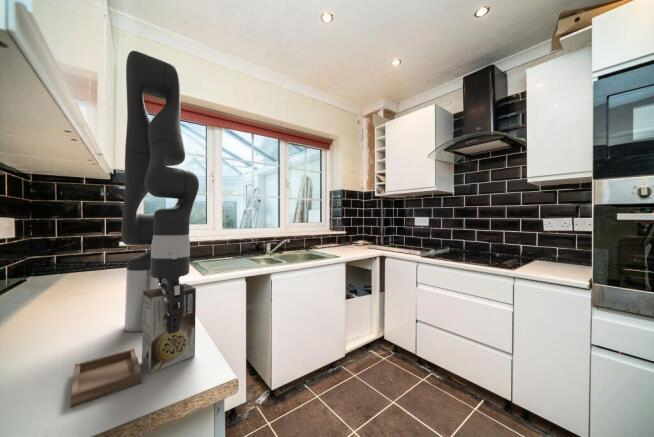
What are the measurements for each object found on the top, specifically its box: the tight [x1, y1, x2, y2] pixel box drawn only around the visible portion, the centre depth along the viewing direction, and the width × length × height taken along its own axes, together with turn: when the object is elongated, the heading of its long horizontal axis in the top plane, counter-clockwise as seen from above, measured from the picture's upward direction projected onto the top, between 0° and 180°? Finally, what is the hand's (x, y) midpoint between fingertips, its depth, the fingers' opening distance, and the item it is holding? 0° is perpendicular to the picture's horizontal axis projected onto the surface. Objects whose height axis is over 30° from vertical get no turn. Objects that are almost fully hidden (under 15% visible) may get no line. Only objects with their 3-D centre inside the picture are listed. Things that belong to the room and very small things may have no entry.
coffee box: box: [141, 283, 197, 374], centre depth 57 cm, size 9×6×16 cm
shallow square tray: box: [70, 348, 142, 408], centre depth 49 cm, size 12×10×2 cm
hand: (168, 326), depth 56 cm, fingers open, 8 cm apart
